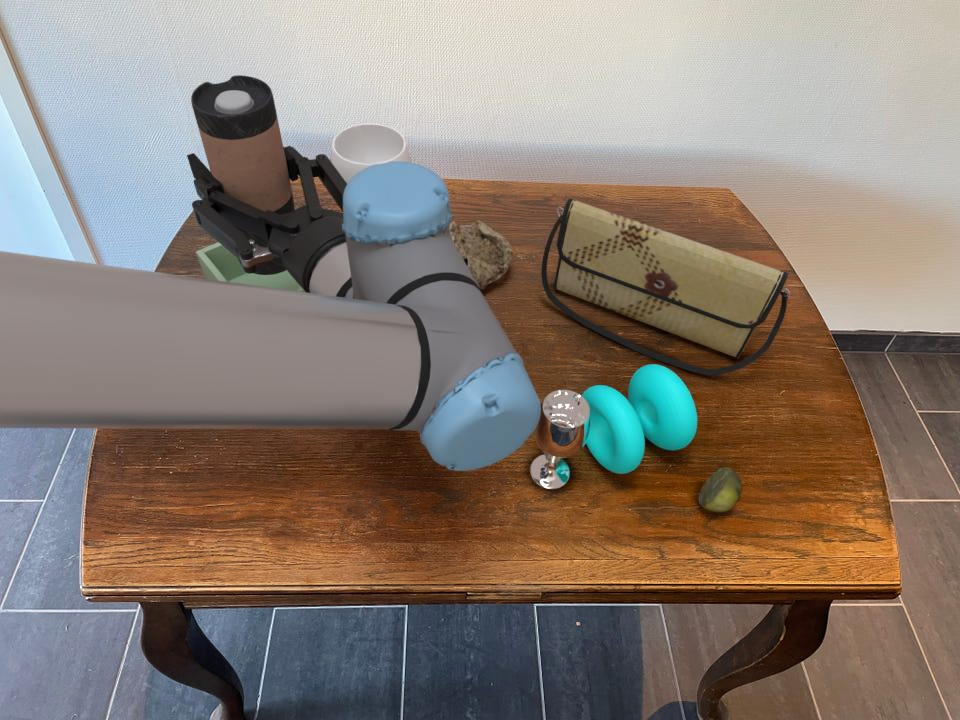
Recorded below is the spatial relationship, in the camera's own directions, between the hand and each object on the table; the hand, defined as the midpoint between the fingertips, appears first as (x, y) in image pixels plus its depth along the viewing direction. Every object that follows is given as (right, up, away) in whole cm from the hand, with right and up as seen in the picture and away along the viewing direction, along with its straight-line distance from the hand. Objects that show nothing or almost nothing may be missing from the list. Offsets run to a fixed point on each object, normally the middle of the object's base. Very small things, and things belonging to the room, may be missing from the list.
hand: (229, 152), depth 74 cm
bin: (+1, -14, +17) cm, 22 cm away
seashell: (+26, -10, +23) cm, 36 cm away
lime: (+52, -38, +1) cm, 65 cm away
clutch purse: (+48, -19, +17) cm, 54 cm away
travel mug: (+2, -10, +6) cm, 12 cm away
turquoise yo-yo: (+44, -32, +6) cm, 55 cm away
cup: (+12, -4, +26) cm, 29 cm away
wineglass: (+35, -35, +3) cm, 49 cm away
